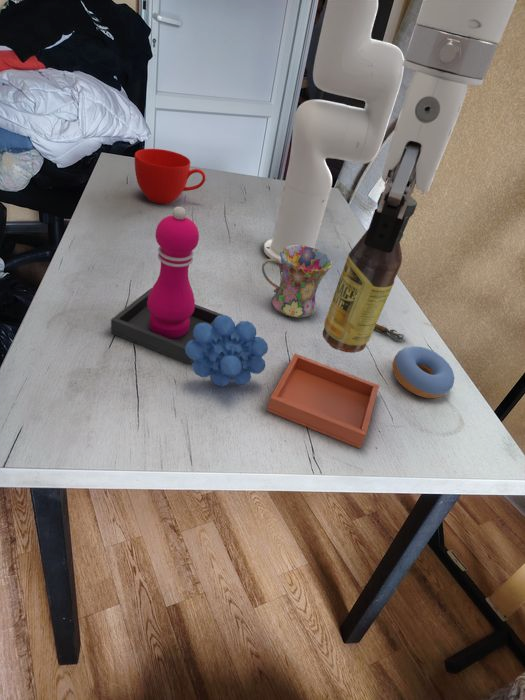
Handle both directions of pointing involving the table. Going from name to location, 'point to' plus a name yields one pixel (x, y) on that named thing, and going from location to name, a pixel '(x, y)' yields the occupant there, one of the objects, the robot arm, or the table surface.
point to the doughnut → (423, 372)
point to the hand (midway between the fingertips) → (381, 238)
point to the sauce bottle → (363, 291)
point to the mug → (298, 279)
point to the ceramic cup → (163, 174)
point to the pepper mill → (173, 276)
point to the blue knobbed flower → (226, 351)
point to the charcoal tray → (137, 330)
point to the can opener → (391, 333)
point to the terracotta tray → (324, 400)
